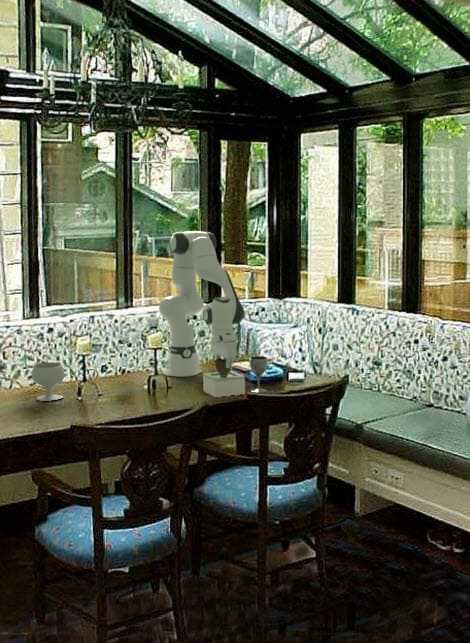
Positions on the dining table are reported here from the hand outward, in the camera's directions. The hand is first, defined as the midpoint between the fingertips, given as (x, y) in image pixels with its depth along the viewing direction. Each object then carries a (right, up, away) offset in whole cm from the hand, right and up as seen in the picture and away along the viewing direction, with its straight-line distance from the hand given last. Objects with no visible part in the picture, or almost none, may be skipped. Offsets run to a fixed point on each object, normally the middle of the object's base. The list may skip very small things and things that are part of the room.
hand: (223, 365), depth 390 cm
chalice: (-75, -14, -4) cm, 77 cm away
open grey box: (0, -12, +2) cm, 12 cm away
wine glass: (+16, -12, +4) cm, 20 cm away
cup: (0, -5, +1) cm, 5 cm away
